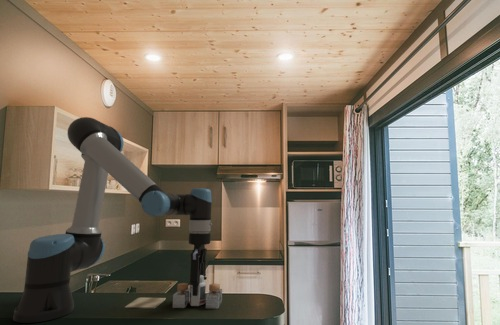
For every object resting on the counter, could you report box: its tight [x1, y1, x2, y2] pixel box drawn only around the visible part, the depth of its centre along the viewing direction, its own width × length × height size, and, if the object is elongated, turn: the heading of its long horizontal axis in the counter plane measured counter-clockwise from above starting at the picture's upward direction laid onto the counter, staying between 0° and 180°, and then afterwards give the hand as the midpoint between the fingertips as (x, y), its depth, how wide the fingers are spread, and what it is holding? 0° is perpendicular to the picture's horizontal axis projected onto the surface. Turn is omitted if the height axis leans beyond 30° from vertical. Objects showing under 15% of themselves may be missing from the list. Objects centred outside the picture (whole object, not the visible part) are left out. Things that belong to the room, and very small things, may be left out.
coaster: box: [124, 296, 167, 310], centre depth 98 cm, size 10×10×1 cm
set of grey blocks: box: [172, 287, 223, 310], centre depth 97 cm, size 15×8×4 cm, turn 86°
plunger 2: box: [208, 283, 221, 293], centre depth 97 cm, size 4×4×5 cm
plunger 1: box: [176, 282, 189, 292], centre depth 97 cm, size 4×4×5 cm
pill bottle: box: [189, 275, 207, 306], centre depth 97 cm, size 5×5×9 cm
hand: (197, 302), depth 97 cm, fingers closed on pill bottle, 5 cm apart
